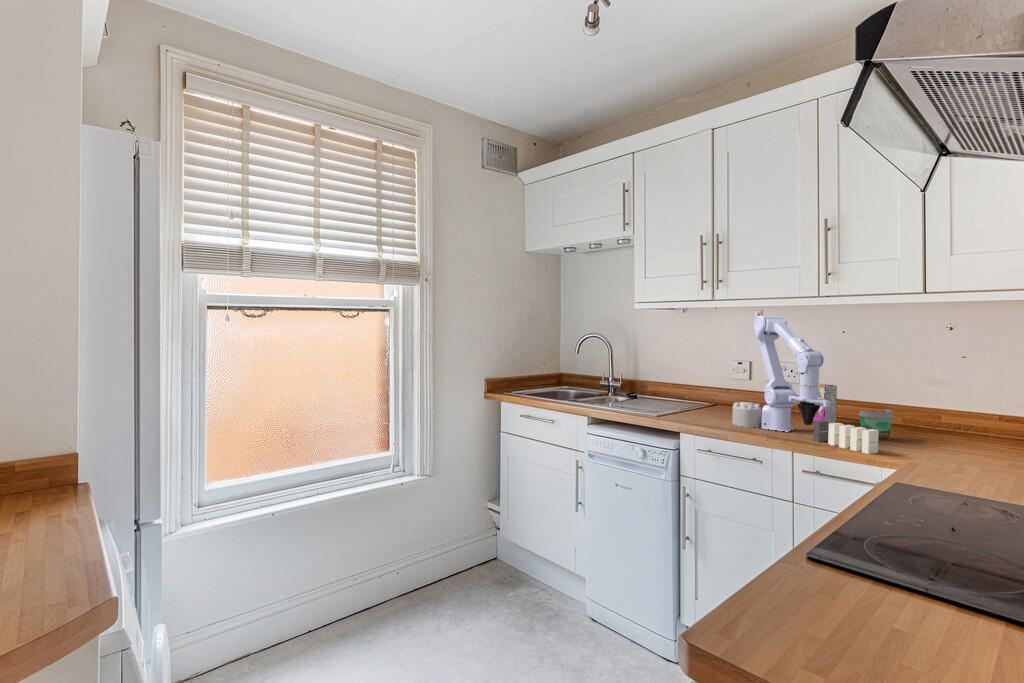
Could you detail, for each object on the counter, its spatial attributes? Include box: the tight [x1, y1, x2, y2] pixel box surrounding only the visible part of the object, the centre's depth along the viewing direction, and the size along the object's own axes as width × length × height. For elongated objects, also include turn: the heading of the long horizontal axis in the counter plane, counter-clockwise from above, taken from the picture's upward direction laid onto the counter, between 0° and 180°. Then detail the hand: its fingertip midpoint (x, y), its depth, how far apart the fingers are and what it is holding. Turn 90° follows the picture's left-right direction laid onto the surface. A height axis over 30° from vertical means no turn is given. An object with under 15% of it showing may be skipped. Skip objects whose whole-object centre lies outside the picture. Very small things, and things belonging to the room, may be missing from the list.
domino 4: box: [861, 429, 879, 455], centre depth 158 cm, size 2×4×7 cm, turn 111°
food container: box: [858, 408, 895, 441], centre depth 177 cm, size 12×6×10 cm, turn 105°
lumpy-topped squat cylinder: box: [731, 401, 762, 428], centre depth 202 cm, size 10×13×9 cm
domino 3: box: [849, 426, 867, 452], centre depth 161 cm, size 2×4×7 cm, turn 111°
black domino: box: [812, 420, 829, 443], centre depth 173 cm, size 2×4×7 cm, turn 111°
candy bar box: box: [811, 381, 838, 424], centre depth 206 cm, size 11×5×16 cm, turn 179°
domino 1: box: [827, 422, 845, 447], centre depth 168 cm, size 2×4×7 cm, turn 111°
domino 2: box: [838, 424, 856, 449], centre depth 165 cm, size 2×4×7 cm, turn 111°
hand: (808, 424), depth 178 cm, fingers closed
